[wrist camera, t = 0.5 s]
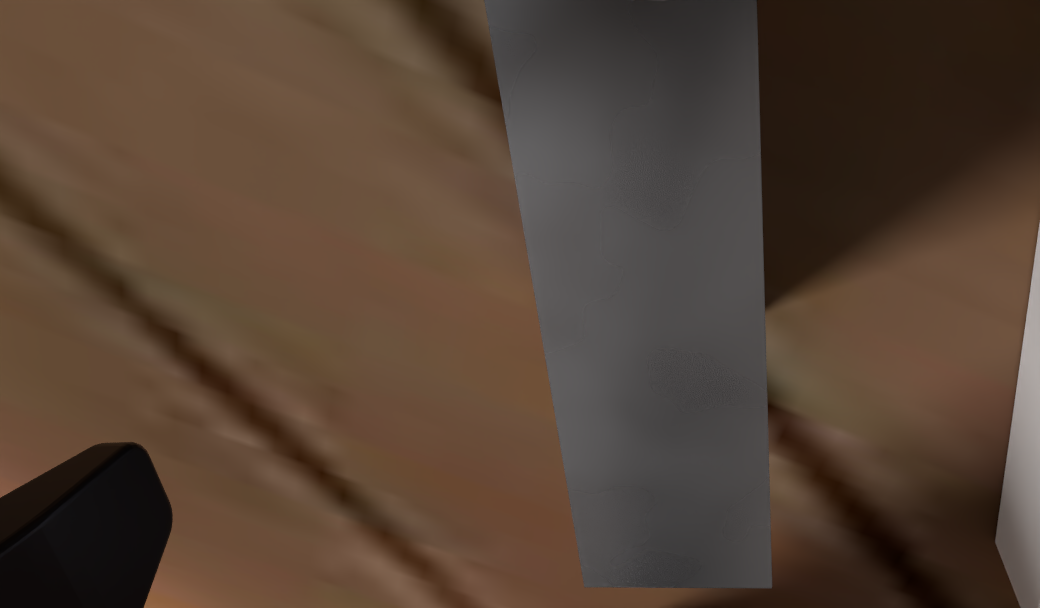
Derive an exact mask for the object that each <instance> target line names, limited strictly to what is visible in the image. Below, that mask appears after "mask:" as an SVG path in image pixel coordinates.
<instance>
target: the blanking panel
mask: <svg viewBox="0 0 1040 608" xmlns="http://www.w3.org/2000/svg"><path fill="white" fill-rule="evenodd" d="M484 1H485V7H486V12H487V18H488V24H489V30H490V36H491V42H492V48H493V53H494V59H495V65H496V71H497V77H498V83H499V89H500V95H501V100H502V106H503V112H504V118H505V124H506V130H507V136H508V141H509V147H510V153H511V159H512V165H513V171H514V177H515V182H516V188H517V194H518V200H519V206H520V212H521V218H522V224H523V229H524V235H525V241H526V247H527V253H528V259H529V265H530V270H531V276H532V282H533V288H534V294H535V300H536V306H537V312H538V317H539V323H540V329H541V335H542V341H543V347H544V353H545V358H546V364H547V370H548V376H549V382H550V388H551V394H552V399H553V405H554V411H555V417H556V423H557V429H558V435H559V441H560V446H561V452H562V458H563V464H564V470H565V476H566V482H567V487H568V493H569V499H570V505H571V511H572V517H573V523H574V529H575V534H576V540H577V546H578V552H579V558H580V564H581V570H582V575H583V581H584V587H646V588H772V562H771V524H770V486H769V448H768V410H767V372H766V333H765V295H764V257H763V219H762V181H761V143H760V104H759V66H758V28H757V0H484Z"/></svg>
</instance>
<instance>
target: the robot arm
mask: <svg viewBox="0 0 1040 608" xmlns="http://www.w3.org/2000/svg"><path fill="white" fill-rule="evenodd" d="M171 528H172V508H171V505H170V502H169V499H168V497H167V495H166V493H165V490H164V488H163V486H162V483H161V481H160V479H159V477H158V474H157V472H156V470H155V467H154V465H153V463H152V461H151V458H150V456H149V454H148V452H147V451H146V450H145V449H144V448H143V447H142V446H141V445H140V444H137V443H134V442H120V443H101V444H97V445H94V446H92V447H90V448H88V449H87V450H85V451H83V452H81V453H79V454H78V455H76V456H74V457H72V458H71V459H69V460H67V461H65V462H63V463H62V464H60V465H58V466H56V467H54V468H53V469H51V470H49V471H47V472H45V473H44V474H42V475H40V476H38V477H37V478H35V479H33V480H31V481H29V482H28V483H26V484H24V485H22V486H20V487H19V488H17V489H15V490H13V491H12V492H10V493H8V494H6V495H4V496H3V497H1V498H0V608H144V605H145V602H146V599H147V597H148V594H149V591H150V588H151V585H152V583H153V580H154V577H155V574H156V572H157V569H158V566H159V563H160V560H161V558H162V555H163V552H164V549H165V547H166V544H167V541H168V538H169V535H170V532H171Z"/></svg>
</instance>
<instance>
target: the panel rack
mask: <svg viewBox="0 0 1040 608" xmlns="http://www.w3.org/2000/svg"><path fill="white" fill-rule="evenodd" d="M995 543H996V546H997V548H998V551H999V554H1000V556H1001V559H1002V561H1003V564H1004V566H1005V569H1006V572H1007V574H1008V577H1009V579H1010V582H1011V584H1012V587H1013V590H1014V592H1015V595H1016V597H1017V600H1018V602H1019V605H1020V608H1040V224H1039V232H1038V239H1037V246H1036V253H1035V260H1034V267H1033V274H1032V281H1031V289H1030V296H1029V303H1028V310H1027V317H1026V324H1025V331H1024V339H1023V346H1022V353H1021V360H1020V367H1019V374H1018V381H1017V388H1016V396H1015V403H1014V410H1013V417H1012V424H1011V431H1010V438H1009V446H1008V453H1007V460H1006V467H1005V474H1004V481H1003V488H1002V495H1001V503H1000V510H999V517H998V524H997V531H996V538H995Z"/></svg>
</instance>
